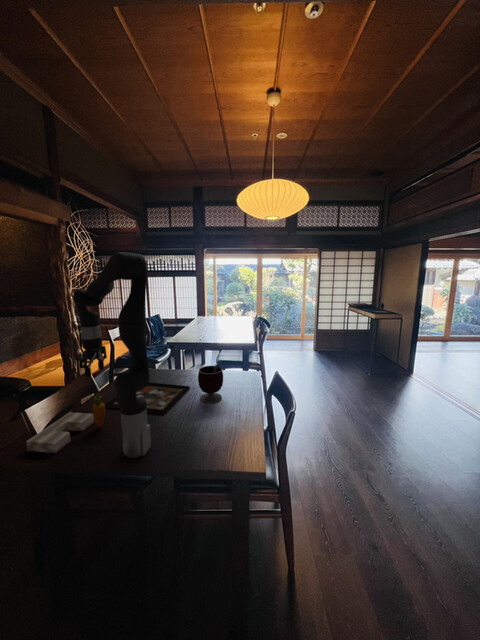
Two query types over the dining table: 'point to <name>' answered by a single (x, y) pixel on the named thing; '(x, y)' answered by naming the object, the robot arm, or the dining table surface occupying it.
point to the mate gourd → (210, 383)
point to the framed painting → (157, 397)
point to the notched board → (59, 432)
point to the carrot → (99, 412)
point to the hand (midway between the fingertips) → (95, 372)
